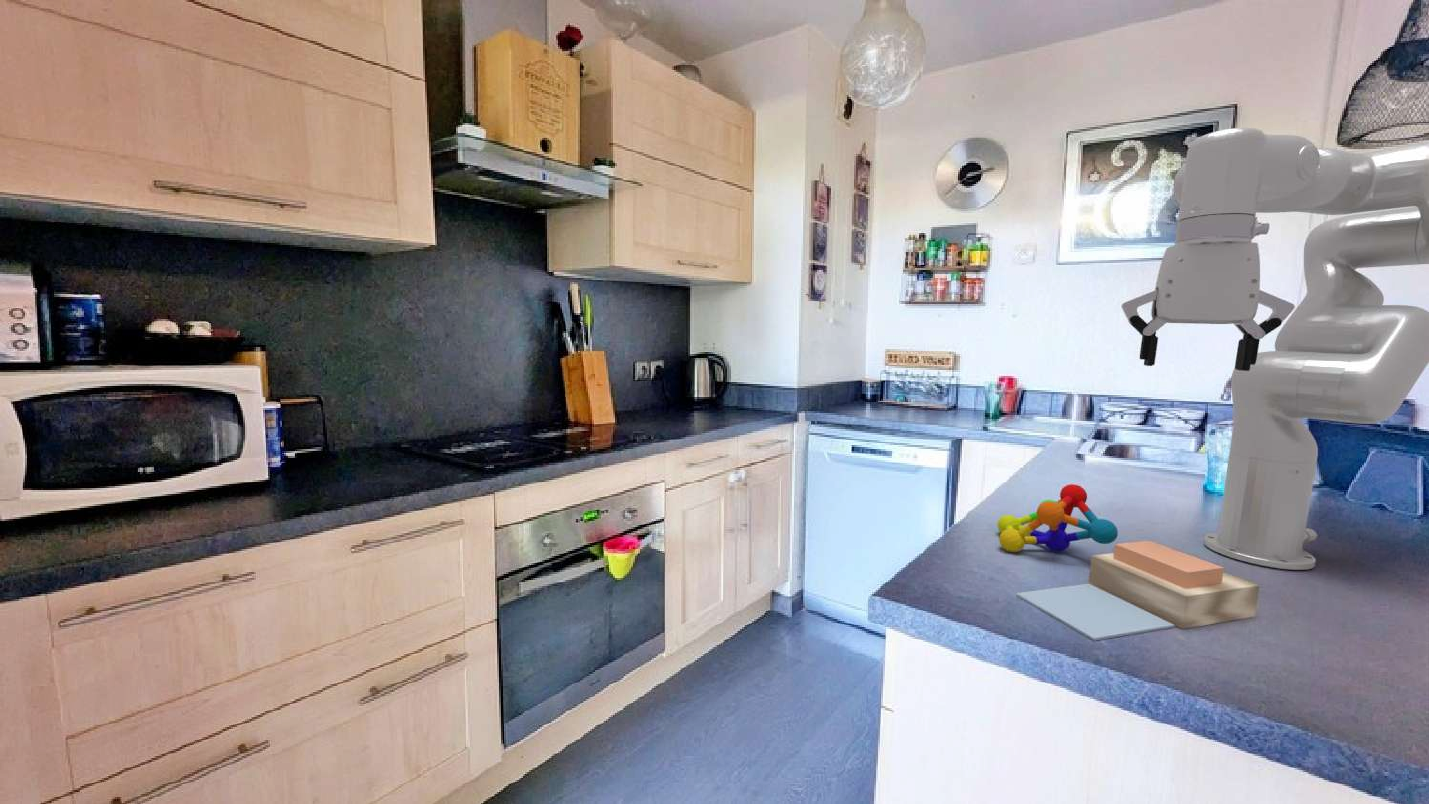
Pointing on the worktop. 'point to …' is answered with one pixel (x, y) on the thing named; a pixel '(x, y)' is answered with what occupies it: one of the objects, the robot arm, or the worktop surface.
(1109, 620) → the mat
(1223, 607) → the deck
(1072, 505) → the molecular model
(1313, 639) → the worktop surface
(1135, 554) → the salmon pink brick
